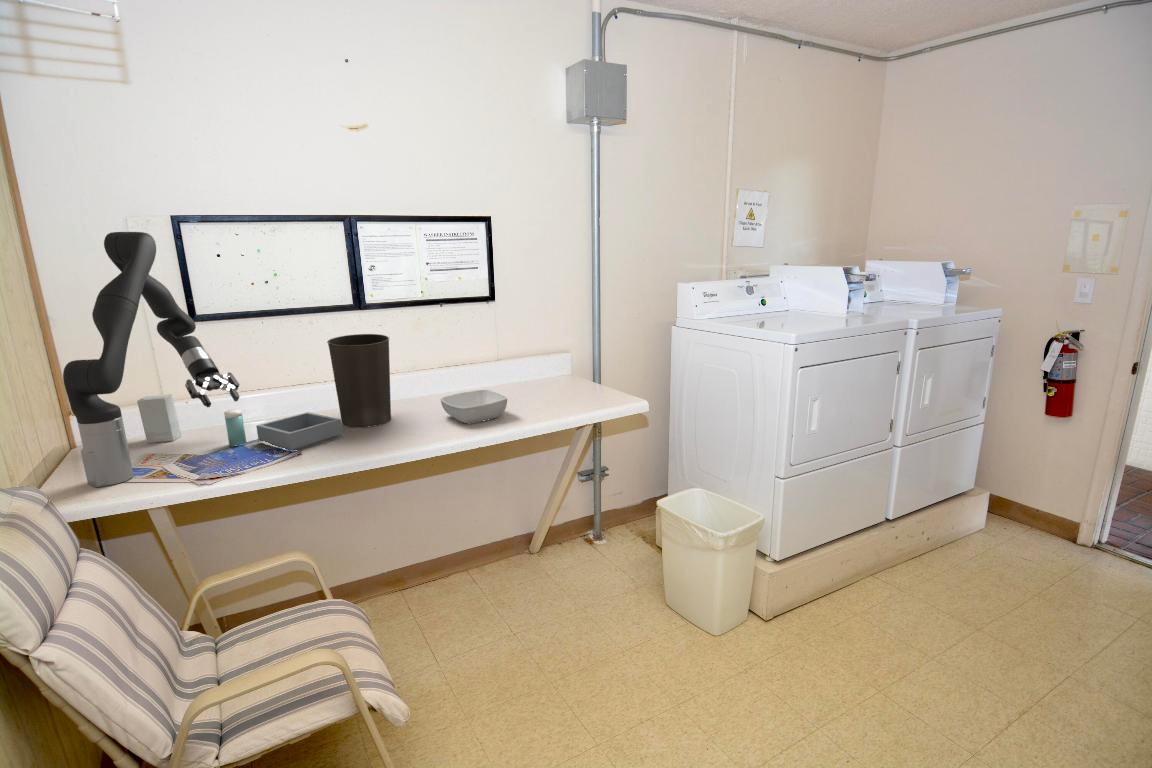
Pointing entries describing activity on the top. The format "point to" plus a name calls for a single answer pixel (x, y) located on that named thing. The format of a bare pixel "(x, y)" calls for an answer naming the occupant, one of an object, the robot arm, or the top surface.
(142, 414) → the skincare box
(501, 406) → the square bowl
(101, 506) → the top surface
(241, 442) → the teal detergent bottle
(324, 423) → the slate bin
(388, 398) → the waste basket
